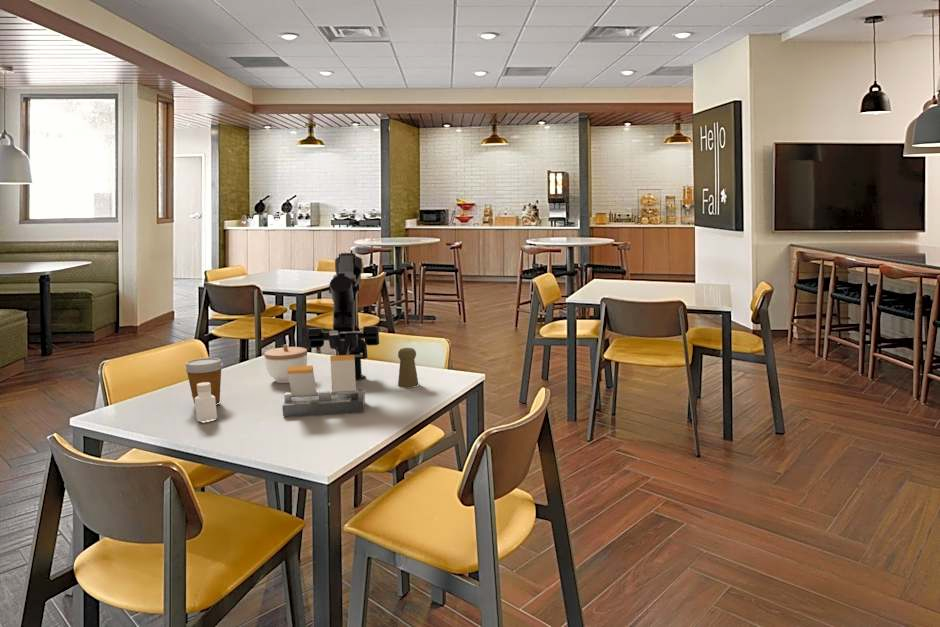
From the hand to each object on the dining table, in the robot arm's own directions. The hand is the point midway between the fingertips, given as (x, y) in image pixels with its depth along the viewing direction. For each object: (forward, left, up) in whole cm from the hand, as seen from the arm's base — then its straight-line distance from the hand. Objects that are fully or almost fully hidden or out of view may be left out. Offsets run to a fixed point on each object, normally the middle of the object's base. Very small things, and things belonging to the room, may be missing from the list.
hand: (342, 363), depth 174 cm
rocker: (+1, -1, -7) cm, 8 cm away
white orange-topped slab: (-3, -10, -7) cm, 12 cm away
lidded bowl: (-38, -4, -12) cm, 40 cm away
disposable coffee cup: (-25, -30, -12) cm, 40 cm away
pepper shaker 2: (-10, -33, -12) cm, 36 cm away
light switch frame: (-1, -5, -12) cm, 13 cm away
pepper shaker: (-10, +23, -12) cm, 28 cm away
